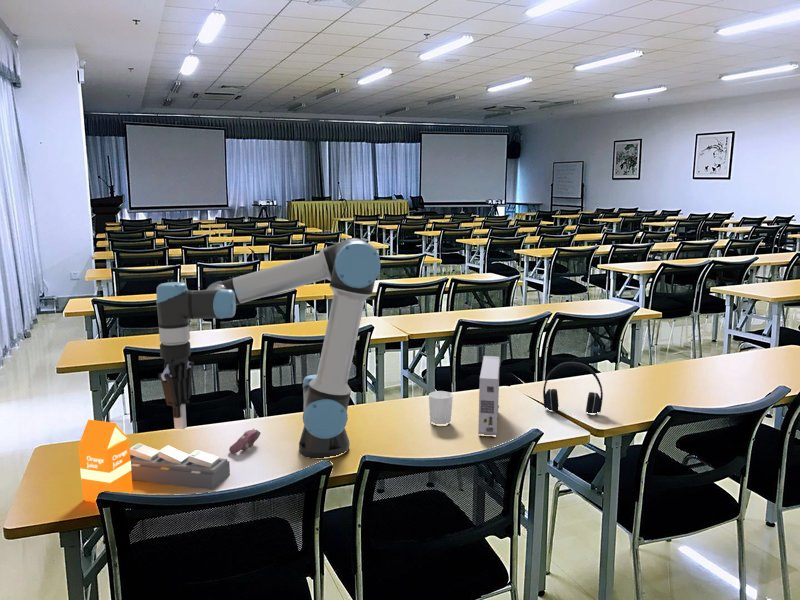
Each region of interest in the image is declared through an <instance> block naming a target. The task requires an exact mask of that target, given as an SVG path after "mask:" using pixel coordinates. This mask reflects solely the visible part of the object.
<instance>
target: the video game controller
mask: <svg viewBox="0 0 800 600" xmlns="http://www.w3.org/2000/svg"><path fill="white" fill-rule="evenodd" d="M260 436H261V432H260V431H259V430H257V429H255V428H252V429H249V430H246V431H244V433H243V434H242V435H241V436H240V437H239V438H238V439H237V440H236V442H234V443H233V444H232V445H230V446H229V449H228V450H229V453H230V454H237V453H238V452H241V451H242V452H246V450H247V449H248V448H252V447H253V446H254V444H255V443H256V441H257V440H259V438H260Z"/></svg>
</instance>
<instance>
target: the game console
mask: <svg viewBox="0 0 800 600" xmlns="http://www.w3.org/2000/svg"><path fill="white" fill-rule="evenodd" d="M500 359H501V358H500V356H494V355H493V356H492V355H489V356H488V355H483V358H482V364H481V369H480V375H479V386H478V387H479V388H478V389H479V391H478V392H479V393H478V394H479V397H478V398H479V399H478V429H477V431H478V435H479V434H484V435H496V434H497V435H498V420H497V418H499V409H500V405H499V392H500V367H501V361H500ZM497 435H496V436H497Z"/></svg>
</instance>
